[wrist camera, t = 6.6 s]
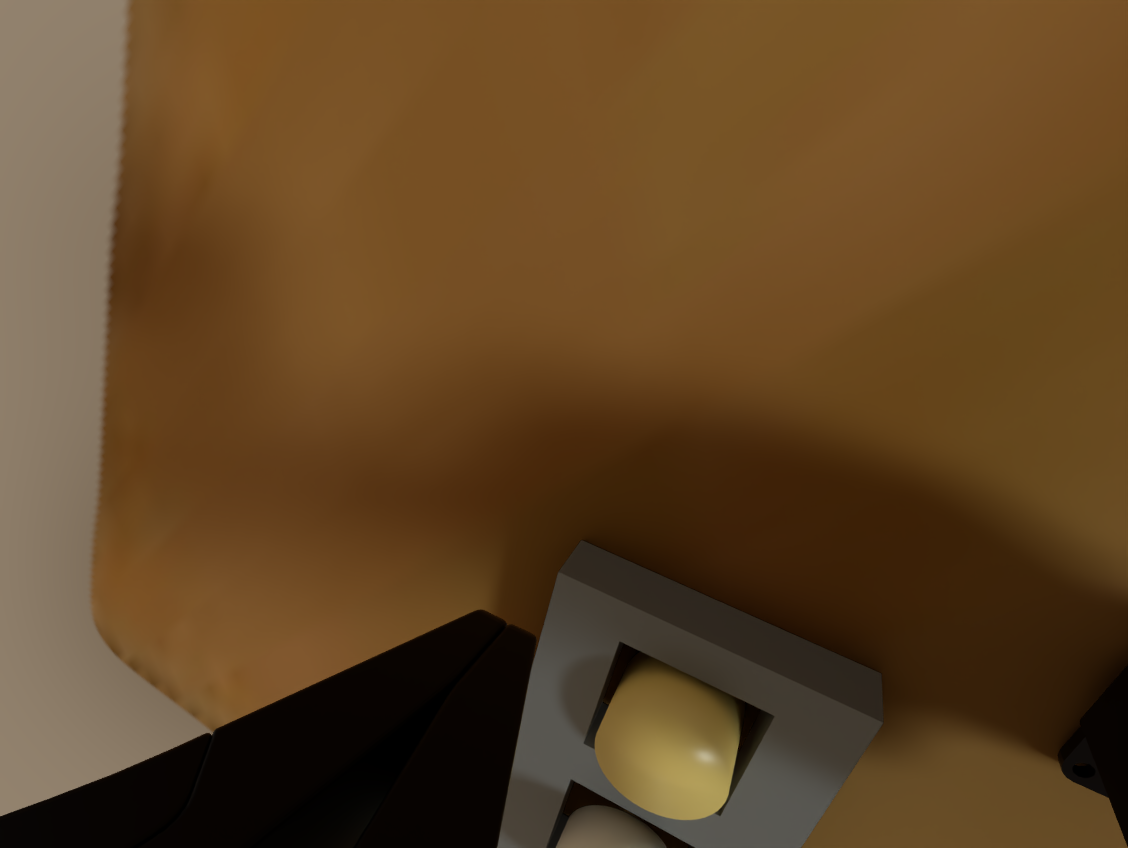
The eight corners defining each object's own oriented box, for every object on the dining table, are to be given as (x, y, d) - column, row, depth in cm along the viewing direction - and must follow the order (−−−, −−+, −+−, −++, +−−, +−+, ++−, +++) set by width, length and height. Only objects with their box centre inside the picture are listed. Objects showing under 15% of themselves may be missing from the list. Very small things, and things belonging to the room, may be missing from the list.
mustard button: (763, 682, 21) (750, 756, 18) (721, 765, 23) (703, 841, 20) (641, 625, 22) (613, 687, 20) (611, 708, 24) (581, 775, 21)
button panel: (881, 673, 20) (883, 722, 18) (670, 1010, 30) (659, 1062, 28) (581, 539, 22) (558, 571, 21) (479, 890, 32) (458, 931, 31)
